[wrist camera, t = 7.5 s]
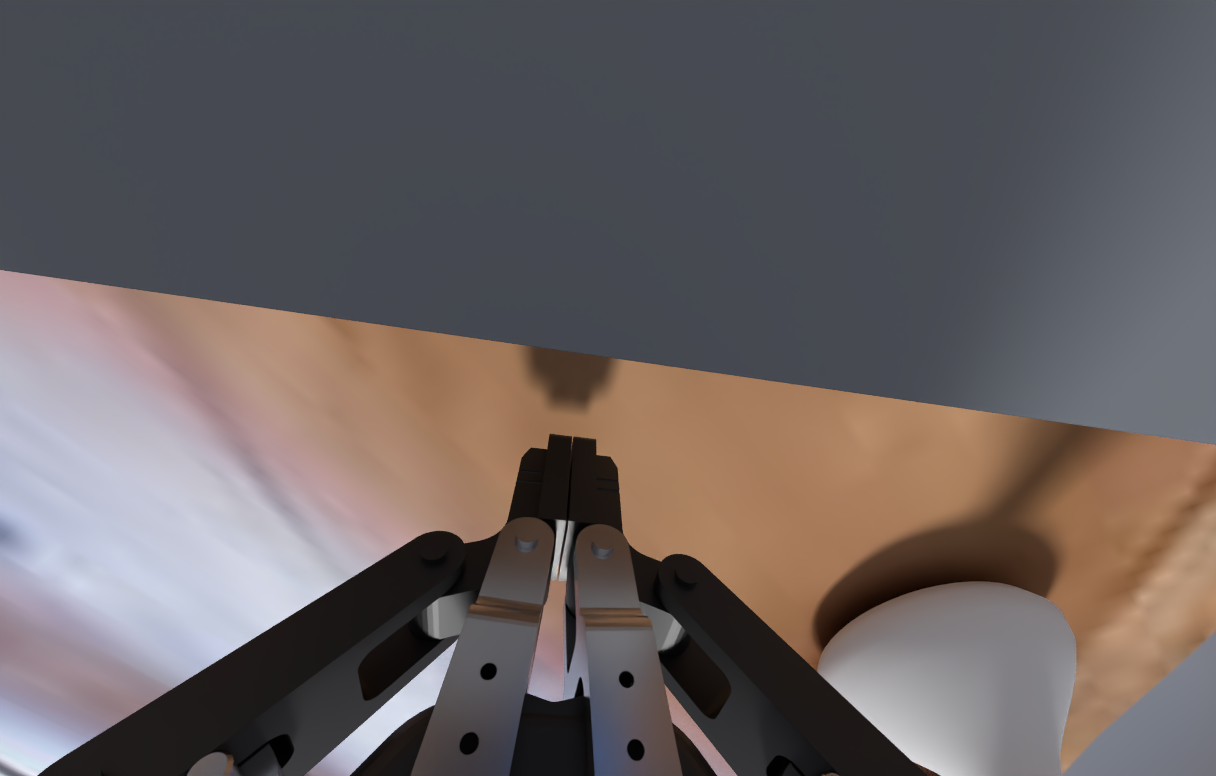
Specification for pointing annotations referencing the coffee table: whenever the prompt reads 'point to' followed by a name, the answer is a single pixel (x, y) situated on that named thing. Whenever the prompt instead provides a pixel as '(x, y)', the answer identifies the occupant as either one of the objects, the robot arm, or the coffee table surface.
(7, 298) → the coffee table surface
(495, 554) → the robot arm
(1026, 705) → the flower in vase
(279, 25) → the gray arch
